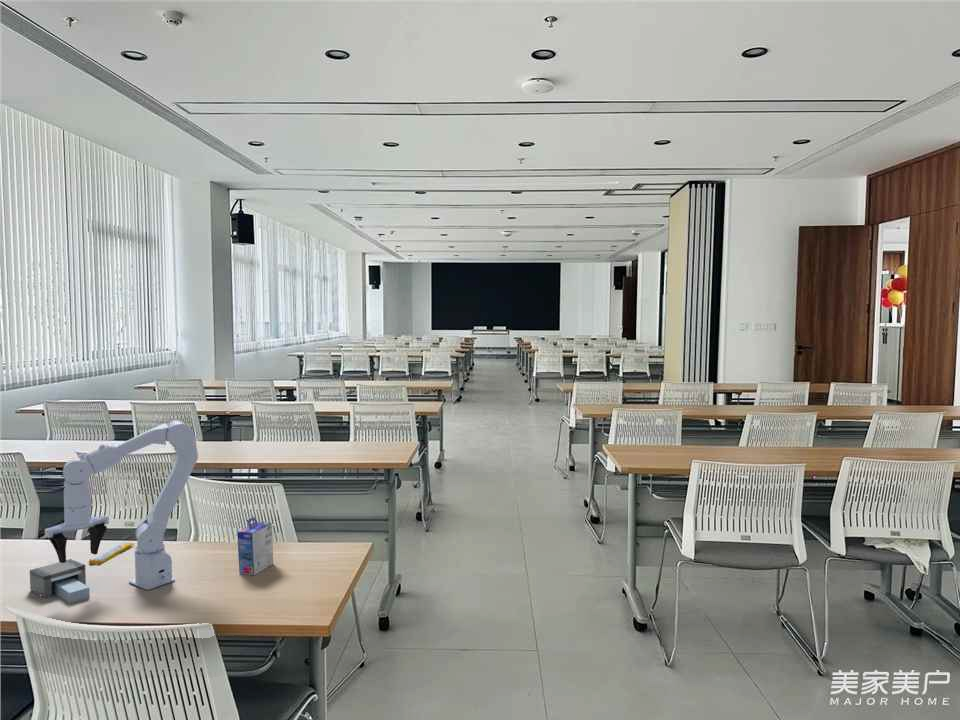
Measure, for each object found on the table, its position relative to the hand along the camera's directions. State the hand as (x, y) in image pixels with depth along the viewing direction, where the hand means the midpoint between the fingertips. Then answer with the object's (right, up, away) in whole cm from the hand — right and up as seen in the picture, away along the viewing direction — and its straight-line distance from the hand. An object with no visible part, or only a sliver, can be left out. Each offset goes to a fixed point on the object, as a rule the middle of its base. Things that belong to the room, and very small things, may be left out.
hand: (78, 557), depth 168 cm
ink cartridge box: (+40, -9, +18) cm, 45 cm away
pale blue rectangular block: (-4, -10, +2) cm, 11 cm away
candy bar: (-8, -9, +30) cm, 32 cm away
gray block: (-8, -9, +5) cm, 13 cm away
